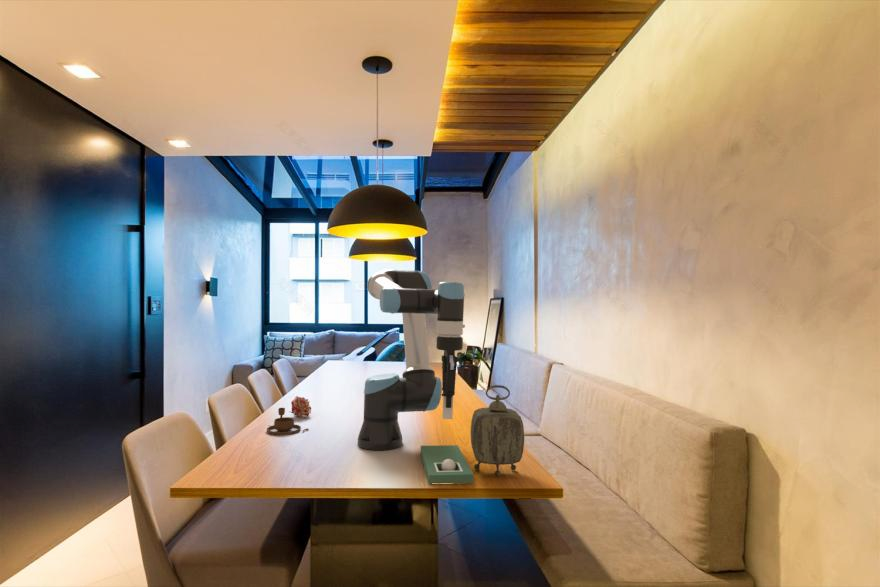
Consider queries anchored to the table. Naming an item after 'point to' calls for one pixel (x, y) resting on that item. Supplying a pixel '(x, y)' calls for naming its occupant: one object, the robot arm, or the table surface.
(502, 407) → the tabletop clock
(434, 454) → the green slotted plate
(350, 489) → the table surface
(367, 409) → the robot arm
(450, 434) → the table surface
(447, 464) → the ball
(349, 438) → the table surface
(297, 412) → the flower
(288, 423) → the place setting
